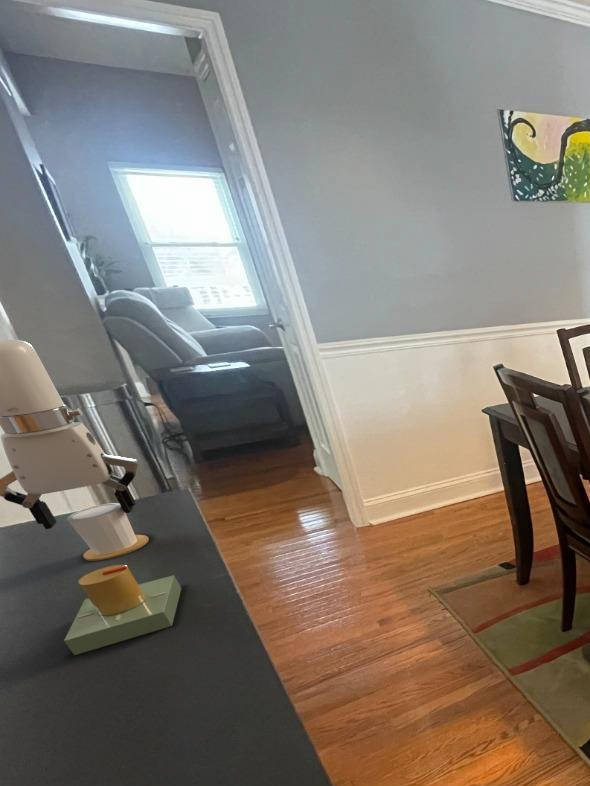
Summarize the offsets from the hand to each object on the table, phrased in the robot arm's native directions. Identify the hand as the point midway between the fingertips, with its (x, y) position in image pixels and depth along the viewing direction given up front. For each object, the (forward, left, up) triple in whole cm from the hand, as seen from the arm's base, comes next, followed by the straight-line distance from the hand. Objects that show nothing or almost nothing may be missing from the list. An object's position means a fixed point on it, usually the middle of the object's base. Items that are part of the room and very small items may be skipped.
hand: (91, 517), depth 102 cm
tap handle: (+7, -31, -4) cm, 32 cm away
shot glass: (+1, 0, -6) cm, 6 cm away
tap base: (+7, -31, -7) cm, 32 cm away
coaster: (+1, 0, -7) cm, 7 cm away
